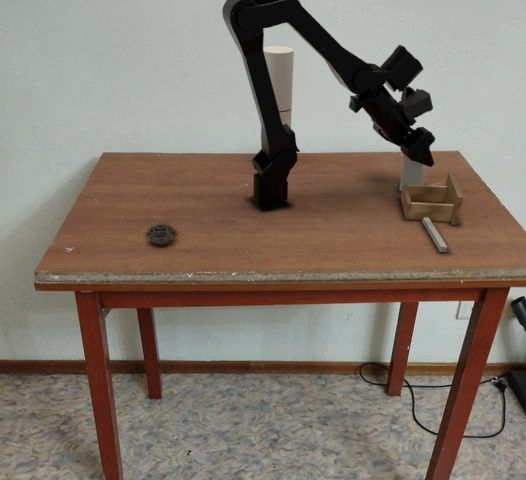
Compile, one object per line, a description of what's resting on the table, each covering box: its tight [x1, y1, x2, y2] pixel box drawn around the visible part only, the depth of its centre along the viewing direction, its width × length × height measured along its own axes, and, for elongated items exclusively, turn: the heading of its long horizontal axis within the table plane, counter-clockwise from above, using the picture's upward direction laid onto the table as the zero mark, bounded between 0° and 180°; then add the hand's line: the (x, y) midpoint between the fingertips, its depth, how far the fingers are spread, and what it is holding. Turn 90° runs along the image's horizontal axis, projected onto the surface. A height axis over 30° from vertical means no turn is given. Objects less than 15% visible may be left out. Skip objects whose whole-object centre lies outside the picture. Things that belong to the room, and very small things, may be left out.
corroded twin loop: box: [147, 223, 175, 246], centre depth 114 cm, size 5×8×1 cm, turn 8°
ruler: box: [421, 217, 448, 253], centre depth 115 cm, size 12×1×1 cm, turn 4°
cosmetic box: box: [399, 131, 433, 192], centre depth 130 cm, size 6×4×12 cm
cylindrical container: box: [260, 45, 295, 150], centre depth 139 cm, size 7×7×25 cm
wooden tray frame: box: [400, 171, 464, 226], centre depth 123 cm, size 10×13×6 cm
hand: (422, 157), depth 130 cm, fingers open, 9 cm apart
